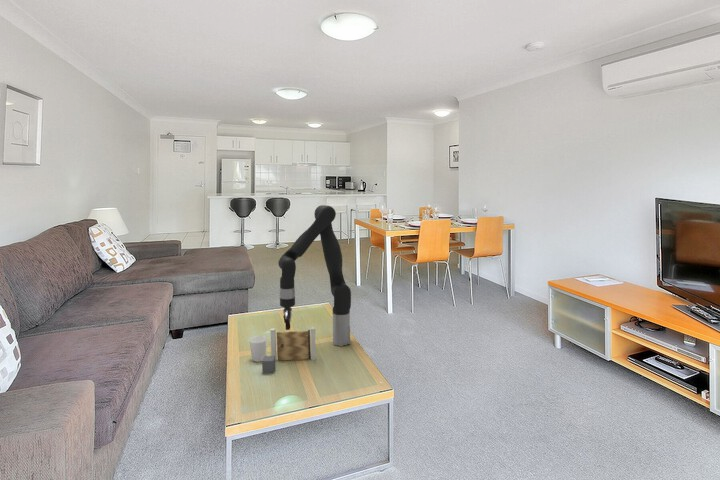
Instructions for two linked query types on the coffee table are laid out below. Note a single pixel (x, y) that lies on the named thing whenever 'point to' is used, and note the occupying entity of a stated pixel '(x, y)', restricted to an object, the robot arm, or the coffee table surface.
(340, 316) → the robot arm
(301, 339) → the door
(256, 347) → the white cup
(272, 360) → the grey cube-like block
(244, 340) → the coffee table surface
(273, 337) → the door frame
